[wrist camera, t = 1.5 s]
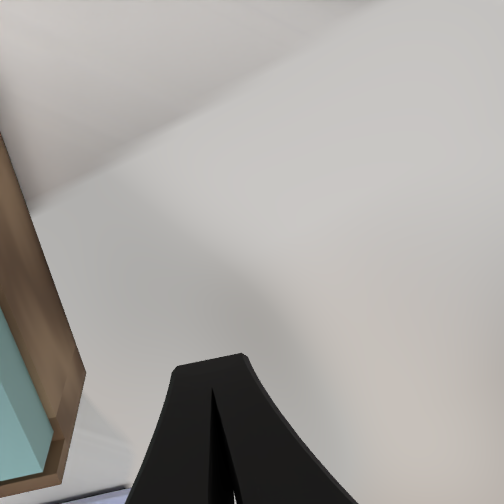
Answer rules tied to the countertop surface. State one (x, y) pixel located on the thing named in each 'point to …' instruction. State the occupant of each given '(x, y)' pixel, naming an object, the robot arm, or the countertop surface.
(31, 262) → the walnut box
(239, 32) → the countertop surface
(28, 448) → the cover plate
